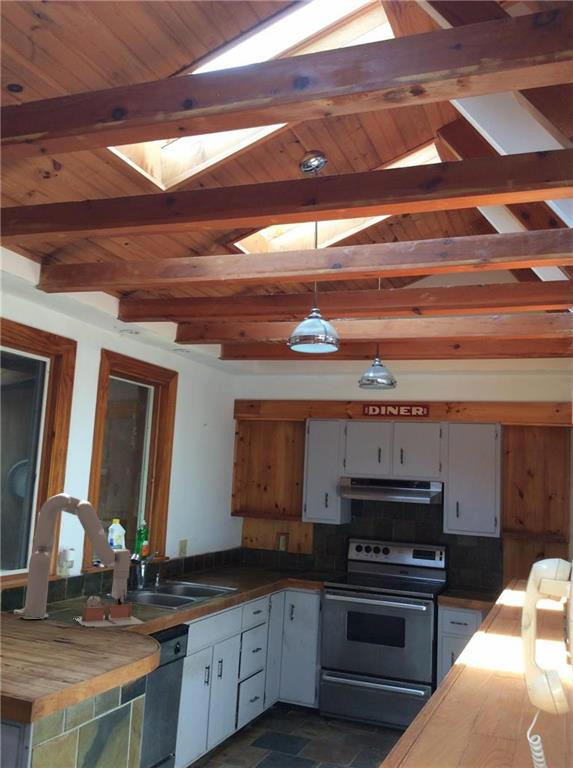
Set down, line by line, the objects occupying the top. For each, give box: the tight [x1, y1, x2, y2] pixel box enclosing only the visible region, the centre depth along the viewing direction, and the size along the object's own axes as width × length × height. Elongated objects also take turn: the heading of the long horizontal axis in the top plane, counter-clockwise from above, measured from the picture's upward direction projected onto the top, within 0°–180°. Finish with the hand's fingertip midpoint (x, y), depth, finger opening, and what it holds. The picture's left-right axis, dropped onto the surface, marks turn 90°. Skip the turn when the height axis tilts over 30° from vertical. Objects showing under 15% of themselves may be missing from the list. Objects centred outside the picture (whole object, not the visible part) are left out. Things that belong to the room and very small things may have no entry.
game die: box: [84, 594, 104, 608], centre depth 342 cm, size 9×8×10 cm
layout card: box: [72, 614, 146, 628], centre depth 319 cm, size 28×24×1 cm
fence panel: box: [109, 602, 133, 618], centre depth 325 cm, size 11×2×7 cm, turn 123°
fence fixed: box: [81, 603, 111, 621], centre depth 319 cm, size 13×2×7 cm, turn 123°
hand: (117, 612), depth 330 cm, fingers closed
